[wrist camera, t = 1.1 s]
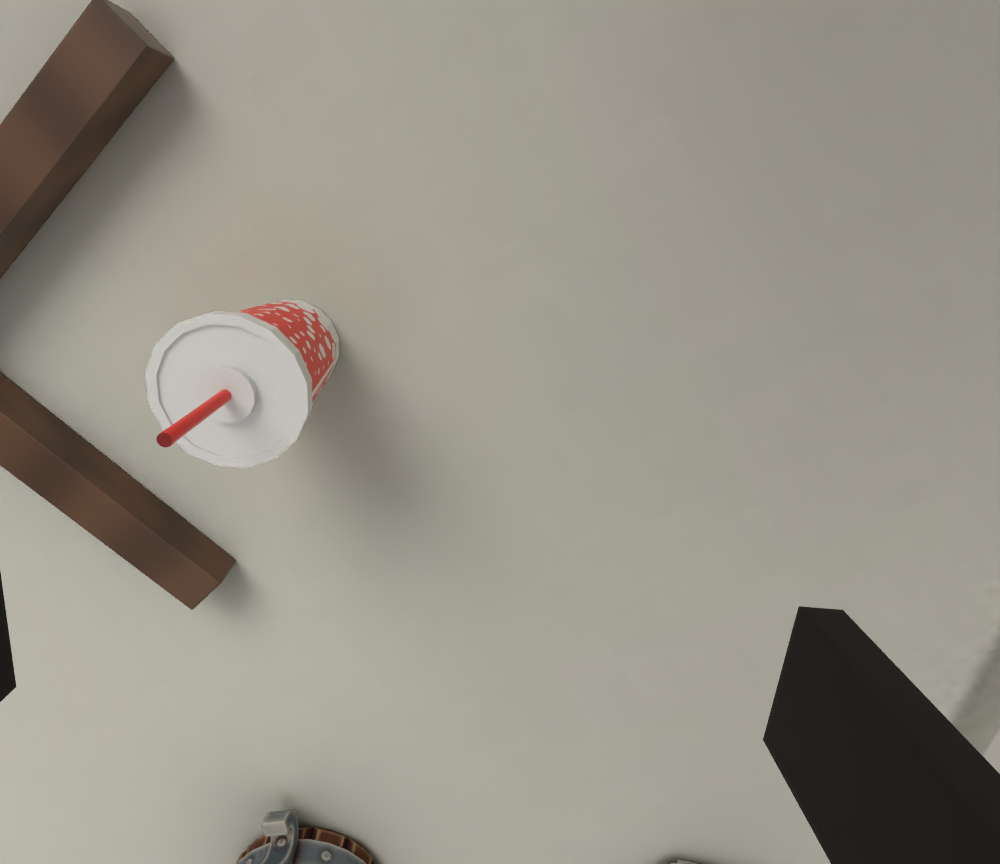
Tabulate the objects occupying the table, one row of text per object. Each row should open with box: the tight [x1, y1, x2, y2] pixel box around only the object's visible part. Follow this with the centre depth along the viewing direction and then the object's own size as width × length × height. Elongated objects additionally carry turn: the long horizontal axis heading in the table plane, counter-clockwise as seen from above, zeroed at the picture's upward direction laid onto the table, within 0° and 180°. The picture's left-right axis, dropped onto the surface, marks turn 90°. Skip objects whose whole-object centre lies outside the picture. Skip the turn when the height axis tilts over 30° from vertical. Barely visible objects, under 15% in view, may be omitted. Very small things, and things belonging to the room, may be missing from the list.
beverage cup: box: [145, 299, 339, 468], centre depth 26 cm, size 6×6×14 cm
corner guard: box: [0, 0, 236, 609], centre depth 31 cm, size 16×29×2 cm, turn 178°
